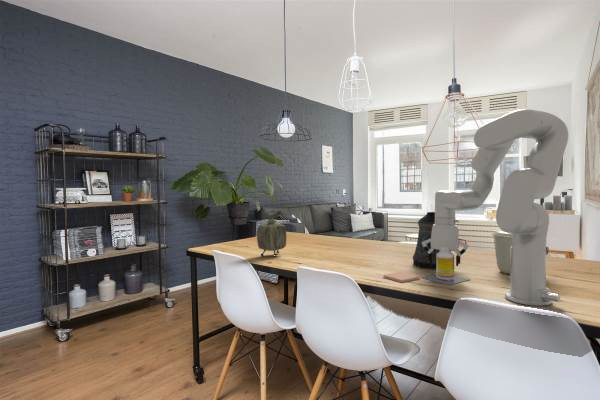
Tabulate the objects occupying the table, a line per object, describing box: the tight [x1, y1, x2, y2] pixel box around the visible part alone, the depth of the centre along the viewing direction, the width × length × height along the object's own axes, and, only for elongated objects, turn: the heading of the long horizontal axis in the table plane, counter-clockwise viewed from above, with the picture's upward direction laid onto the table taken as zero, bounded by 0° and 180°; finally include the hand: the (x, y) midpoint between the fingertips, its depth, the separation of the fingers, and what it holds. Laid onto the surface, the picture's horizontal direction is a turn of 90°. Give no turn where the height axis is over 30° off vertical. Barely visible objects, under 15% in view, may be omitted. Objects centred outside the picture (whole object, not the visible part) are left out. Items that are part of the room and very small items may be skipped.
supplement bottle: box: [435, 247, 455, 280], centre depth 140 cm, size 7×7×13 cm
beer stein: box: [412, 211, 439, 270], centre depth 164 cm, size 16×19×25 cm
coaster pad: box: [382, 271, 421, 283], centre depth 143 cm, size 10×10×1 cm
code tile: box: [420, 273, 471, 286], centre depth 140 cm, size 13×13×1 cm
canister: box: [491, 229, 513, 275], centre depth 147 cm, size 18×18×21 cm
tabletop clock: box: [256, 210, 287, 257], centre depth 193 cm, size 14×9×25 cm, turn 130°
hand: (444, 264), depth 140 cm, fingers open, 9 cm apart
